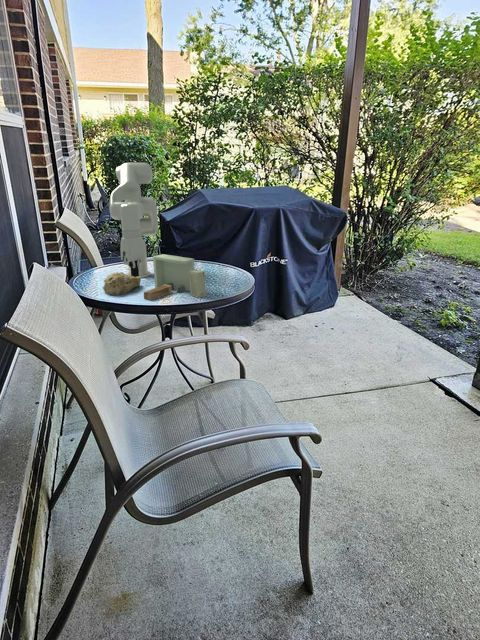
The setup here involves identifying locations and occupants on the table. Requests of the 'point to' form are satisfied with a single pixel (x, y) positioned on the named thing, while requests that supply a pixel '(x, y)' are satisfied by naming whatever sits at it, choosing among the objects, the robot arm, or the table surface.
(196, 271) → the skincare box
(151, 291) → the walnut batten
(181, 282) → the shelter
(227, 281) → the table surface
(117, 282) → the rock
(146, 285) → the table surface
